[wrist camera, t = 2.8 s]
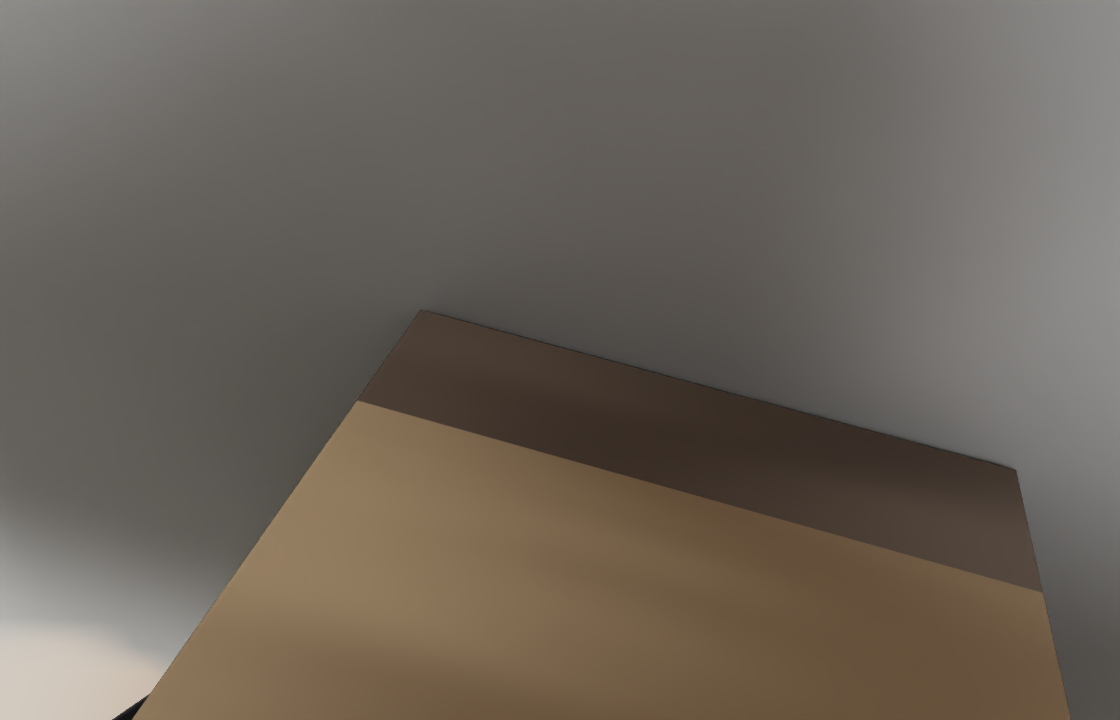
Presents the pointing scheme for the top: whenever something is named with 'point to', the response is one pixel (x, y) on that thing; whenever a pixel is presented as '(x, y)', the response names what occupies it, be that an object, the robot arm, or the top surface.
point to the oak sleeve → (619, 561)
